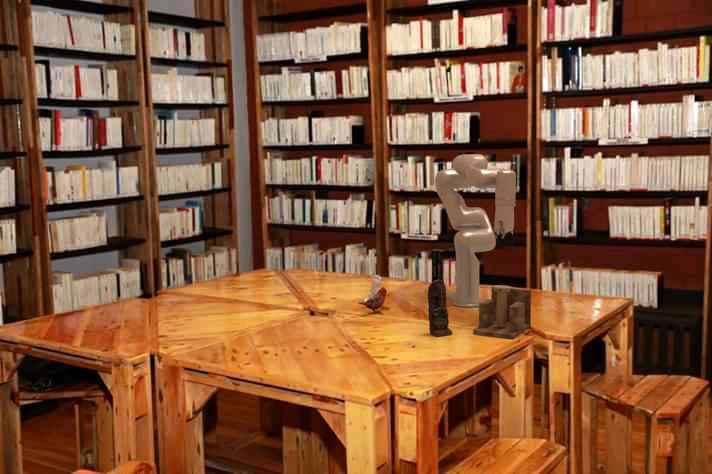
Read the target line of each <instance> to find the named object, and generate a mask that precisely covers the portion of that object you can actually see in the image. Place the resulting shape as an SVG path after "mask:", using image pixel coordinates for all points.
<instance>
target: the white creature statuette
mask: <svg viewBox="0 0 712 474" xmlns="http://www.w3.org/2000/svg"><path fill="white" fill-rule="evenodd" d="M384 280H385V278H384V277H383V278H382V277H381V276H380V275H379V274H375V275H372V276H371V280H370V281H371V286H370V290H369V292H370V295H369V296H367V297H365V298H363V299H362V300H361V302H366V301H367V300H368V299H370V298H371V297H373V296H374V295H375V294H377V292H378V291H379V290H380V289H381V288H382V287H381V286H380V285H382V283H383V282H384Z"/></svg>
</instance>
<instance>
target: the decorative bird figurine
mask: <svg viewBox="0 0 712 474" xmlns="http://www.w3.org/2000/svg"><path fill="white" fill-rule="evenodd" d="M387 293H388V291H387V288H386V287H383V286H382V287H381V289H380V290H379V291H378V292H377V294H375V295H374V296H373V297H371V298H370V299H368V300H367V301H366V302H362V301H358V302H357V304H358V305H359V304H360V305H363V306H365V307H366V308H367V309H369V310H372V313H371V314H372V315H373V314H379V313H380V312H381V310H379V311H378V309H380V308H381V307H382V306H383V305H384V303H385V299H386V295H387Z"/></svg>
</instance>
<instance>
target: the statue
mask: <svg viewBox="0 0 712 474" xmlns="http://www.w3.org/2000/svg"><path fill="white" fill-rule="evenodd" d="M427 300H428V301H427V303H428V323H429V325H428V326H429V333H430V334H431V335H432V336H434V337H445V336H450V335H452V334H453V330H452V329H450V328H449V323H450V320H449V311H448V307H447V288H446V284H445V282H444V280H443V279H436V280H433V281H432V282H431V283H430V285H429V286H428V289H427Z"/></svg>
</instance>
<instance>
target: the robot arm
mask: <svg viewBox="0 0 712 474" xmlns="http://www.w3.org/2000/svg"><path fill="white" fill-rule="evenodd" d="M488 165H489V162H488V160H487V157H486V156H484V155H483V154H480V153H478V154H477V153H473V154H470V153H469V154H466V153H465V154H460V155H458V156H457V155H456V157H455V158H453V160H452V168H446V169H441V170H439V171H438V172H437V173H436V175H435V178H434V186H435V190H436V193H437V195H438V197H439V198H440V200H441V202H442V203H443V206H444V208H445V212H446V214H447V217H448V219H449V222H450V224H451V226H452V228H453V229H454V230H456V231H458V232H456V234H455V235H454V237H453V241H454V249H455V256H456V257H455V258H456V259H455V261H456V263H455V264H456V271H455V272H456V274H455V275H456V280H455V281H456V284H455V293H453V292H448V293H447V298H448V299H453V300H452V305H453V306H456V307H460V308H476V307H477V308H478V307H479V303H480V302H482V301H483V300H480V261H479V259H478V257H477V256H476V255H475V253H479V252H488V251H489V252H490V251H492V250H493V249H494V248H495V249H497V250H505V247H506V246H510V247H512V246H514V229H515V209H514V208H515V207H516V194H517V193H516V189H517V188H516V187H517V186H516V185H517V174H516V171H514V170H512V169H505V168H488ZM472 187H474V188H477V189H495V193H494V194H495V195H494V197H495V213H494V214H495V215H494V224H493V225H494V227H493V226H492V224H491V220H490V218H489V217H488V214H487V212H486V211H485V210H484V209H483V208H482V207H477V206H476V207H469V206H467V205H466V202H465V200H464V198H463V196H462V195H461V194H460V193H459V192H458V191H456V190H455V189H467V188H469V189H470V188H472Z"/></svg>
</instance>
